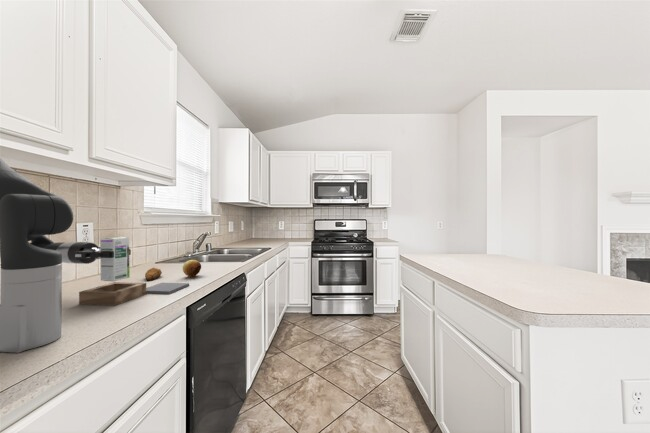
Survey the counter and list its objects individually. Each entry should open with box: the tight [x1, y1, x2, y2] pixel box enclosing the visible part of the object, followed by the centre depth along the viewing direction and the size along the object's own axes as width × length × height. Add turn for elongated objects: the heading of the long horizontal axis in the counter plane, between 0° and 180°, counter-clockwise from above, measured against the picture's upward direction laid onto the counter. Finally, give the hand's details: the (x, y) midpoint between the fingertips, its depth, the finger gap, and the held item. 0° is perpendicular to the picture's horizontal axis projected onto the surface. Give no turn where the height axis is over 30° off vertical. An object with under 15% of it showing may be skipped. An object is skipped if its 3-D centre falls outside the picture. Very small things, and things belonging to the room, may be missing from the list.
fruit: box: [182, 259, 202, 278], centre depth 125 cm, size 8×8×8 cm
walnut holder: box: [78, 281, 147, 306], centre depth 91 cm, size 13×13×4 cm
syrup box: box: [99, 236, 130, 282], centre depth 91 cm, size 6×6×14 cm
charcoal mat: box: [146, 282, 190, 295], centre depth 103 cm, size 12×12×1 cm
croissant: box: [144, 267, 163, 281], centre depth 122 cm, size 14×7×5 cm, turn 18°
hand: (121, 253), depth 91 cm, fingers closed on syrup box, 6 cm apart
